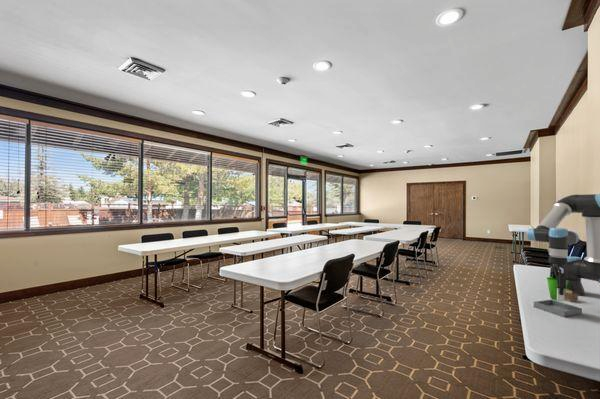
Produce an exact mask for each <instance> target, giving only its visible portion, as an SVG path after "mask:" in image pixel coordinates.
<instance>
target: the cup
mask: <svg viewBox="0 0 600 399" xmlns="http://www.w3.org/2000/svg"><path fill="white" fill-rule="evenodd" d="M545 279H546V280H547V286H548V291H549V296H550V300H554V301H558V300H557V288H556V287H558V284H557V282H558V281H557V279H554V278H552V277H550V276H548V277H546V278H545ZM568 282H569V281H568V280H566V288H567V284H568ZM565 292H566V289H564V296H565ZM558 302H559V301H558Z"/></svg>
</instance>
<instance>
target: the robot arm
mask: <svg viewBox="0 0 600 399" xmlns="http://www.w3.org/2000/svg"><path fill="white" fill-rule="evenodd" d="M551 208H552V209H551V210H550V211H549V212H548V213H547V215H546V216H545V217H544V218H543V219H542V221H541V222H540V223H539V224H538V225H537V226H536V227H535V228H534V227H532V228H531V227H530V228H528V229H527V230H526V235H525V236H526V239H528V240H529V241H533V242H539V243H540V242H541V243H548V249H547V252H548V255H549V256H548V263H549V264H550V265H549V266H550V271H549V277H552V278H554V279H557V281H558V282H557V284H558V287H556V288H557V300H558V302H565V300H564V289H569V290H572V293H575V294H578V296H585V295H586V294H585V292H586V291H585V288H584V285H583V284H582V280H583V279H584V280H587V281H588V280H589V281H595V282H598V283H600V194H599V193H598V194H597V193H593V194H570V195H567V196H565V197H563V198H561V199H559V200H558V201H556V202H555V203H554V204H553V205H552V207H551ZM571 214H581V217H582V218H584V219H585V235H586V236H585V237H586V256H585V257H584V258H583V259H582V257H579V256H569V255H568V252H569V248H568V246H571V245H574V244H577V243H578V242H579V240H580V236H579V235H578V233H576V232H574V231H571V230H568V228H565V227H564V228H562V227H558V226H559V225H560V224H561V223H562V221H563V220H564V219H565V218H566V216H569V215H571ZM566 280H568V281H569V282H568V284H567V288H566Z"/></svg>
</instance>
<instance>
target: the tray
mask: <svg viewBox="0 0 600 399" xmlns="http://www.w3.org/2000/svg"><path fill="white" fill-rule="evenodd" d="M533 308H535V309H537V310H541V311H543V312H547V313H550V314H553V315H556V316H559V317H562V318H567V317H574V316H579V315H581V316H582V315H583V308H581V307H578V306H575V305H570V304H568V303H564V302H562V301H556V300H552V299H545V300H544V299H542V300H538V301H537V300H536V301H533Z"/></svg>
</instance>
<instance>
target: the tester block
mask: <svg viewBox="0 0 600 399" xmlns="http://www.w3.org/2000/svg"><path fill="white" fill-rule="evenodd" d="M578 301H579V295H578V294H575V293H572V294H570V295H569V294H565V296H564V302H569V303H572V302H573V303H574V302H578Z"/></svg>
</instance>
